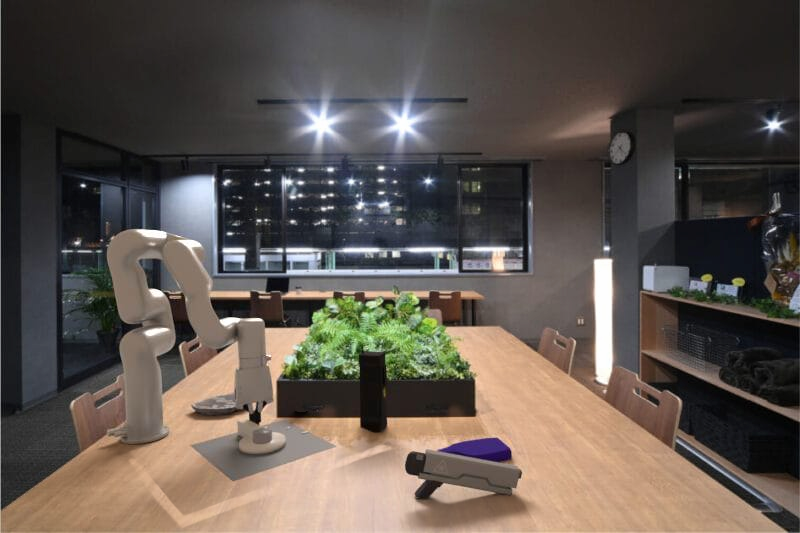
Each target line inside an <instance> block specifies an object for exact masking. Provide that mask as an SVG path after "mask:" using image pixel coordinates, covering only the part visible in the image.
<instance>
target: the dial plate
mask: <svg viewBox="0 0 800 533" xmlns="http://www.w3.org/2000/svg"><path fill="white" fill-rule="evenodd" d="M261 426H262V427H263V428H269V429H271V430H272V432H277V433H281V434H283V435H284V436H285V437H286V444H285V445H284V446H283V447H282V448H281V449H279V450H276V451H274V452H270V453H265V454H246V453H243V452H241V451H240V450H239V442H240V440H241V439H243V437H242V436H240V435H238V431H237V432H234V433H229V434H225V435H223V436H219V437H215V438H212V439H208V440H204V441H201V442H197V443H193V444H190V446H191V448H193V449H194V450H195V451H196V452H198V453H199V454H200V455H201V456H202V457H204V458H205V459H206V460H208V462H209V463H211V464H212V465H213V466H214V467H216V469H218V470H219V471H220V472H221V473H223V474H224V475H225V476H226V477H228V478H229V479H230V481H232V482H234V481H238V480H240V479H241V480H242V479H244V478H247V477H250V476H253V475H255V474H259V473H262V472H265V471H268V470H270V469H273V468H276V467H280V466H282V465H286V464H288V463H291V462H294V461H297V460H300V459H303V458H306V457H308V456H311V455H315V454H317V453H320V452H323V451H327V450H330V449H334V448H335V447H337V445H335V444H333V443H331V442H330V441H327V440H325V439H323V438H321V437H319V436H317V435H316V434H313V433H311V432H310V431H308V430H306V429H303V428H302V427H300V426H298V425H296V424H295V423H292V422H290V421H288V420H286V419H281V420H278V421H273V422H270V423H267V424H266V423H265V424H263V425H261Z"/></svg>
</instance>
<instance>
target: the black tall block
mask: <svg viewBox="0 0 800 533" xmlns="http://www.w3.org/2000/svg"><path fill="white" fill-rule="evenodd" d="M358 366H359V399H360V400H359V401H360V403H359V404H360V405H359V408H360V410H359V411H360V414H359V417H360V418H359V421H360V422H359V426H360V428H362V429H364V430H366V431H369V432H372V433H373V432H374V433H381V432H382V431H384V430H385V429H386V427H388V414H387V413H388V412H387V386H388V384H389V383H388V372H387V370H388V369H387V365H386V352H385V351H368V350H367V351H366V350H364V344H361V352H360V353H359V354H358Z"/></svg>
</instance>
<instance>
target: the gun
mask: <svg viewBox="0 0 800 533" xmlns="http://www.w3.org/2000/svg"><path fill="white" fill-rule="evenodd" d="M404 463H405V464H404V468H405V472H406V474H408V475H410V476H416V477H417V479H418V480H419V479H420V480H424V482H423V483H422V484H421V485H420V486H419V487H418V488H417V489H416V490H415V492H414V497H415V498H416V499H421V500H428V499H429V498H430V497H431V496H432V495H433V494H434V492H435V491H436V490H437V489H438V488H439V489H440V488H441V486H443V484H447V485H451V486H456V487H464V488H467V489H474V490H479V491H484V492H489V493H490V492H491V493H496V494H502V495H507V496H511V495H512V494H513V489H517V487H518V483H519V479H522V476H523V475H522V474H523V471H522V470H521V468H519V467H518V465H513V464H510V463H509V464H508V463H503V462H493V461H488V460H482V459H477V458H471V457H466V456H461V455H455V454H450V453H445V452H439V451H438V450H432V449H427V448H426V449H425V452H419V451H415V450H414V451H410V452H409V453H408V454H407V456H406V459H405V462H404Z"/></svg>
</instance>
